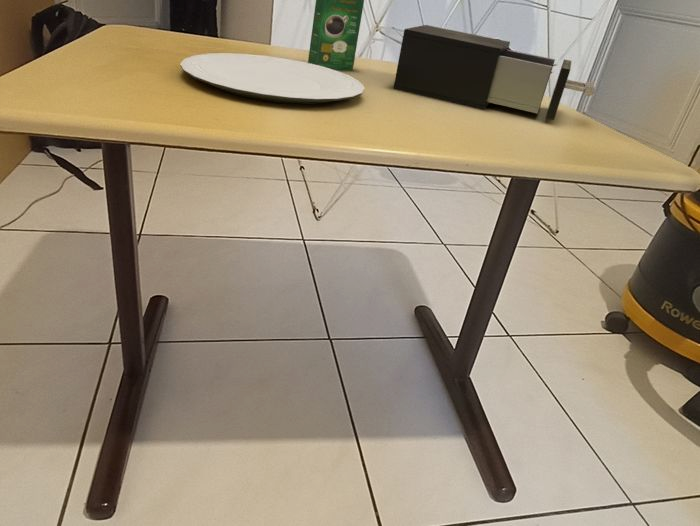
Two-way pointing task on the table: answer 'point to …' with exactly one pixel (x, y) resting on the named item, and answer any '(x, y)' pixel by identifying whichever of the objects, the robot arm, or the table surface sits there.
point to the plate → (272, 78)
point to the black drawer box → (448, 65)
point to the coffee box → (335, 33)
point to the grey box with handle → (530, 82)
